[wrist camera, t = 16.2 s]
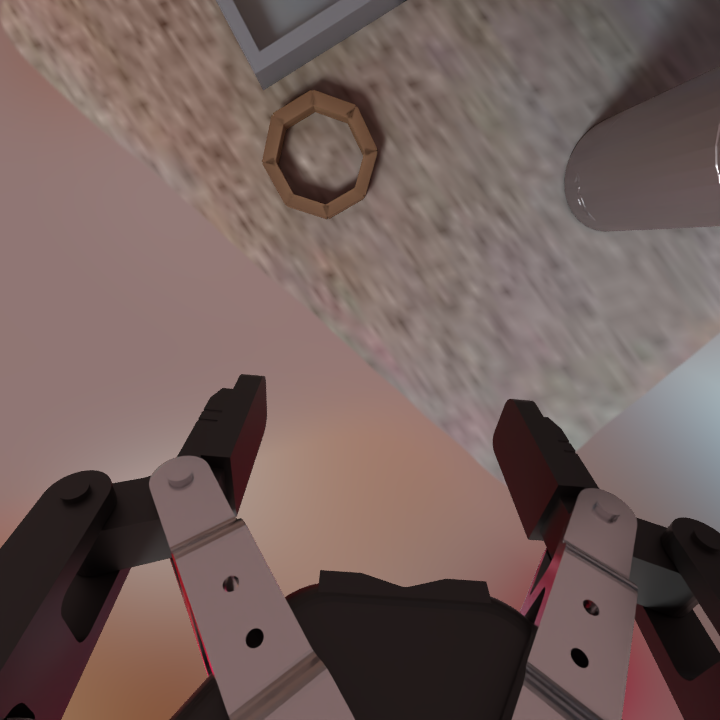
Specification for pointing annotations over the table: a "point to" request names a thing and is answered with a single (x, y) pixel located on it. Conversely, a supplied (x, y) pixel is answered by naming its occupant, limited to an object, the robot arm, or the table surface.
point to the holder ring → (298, 112)
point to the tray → (295, 30)
